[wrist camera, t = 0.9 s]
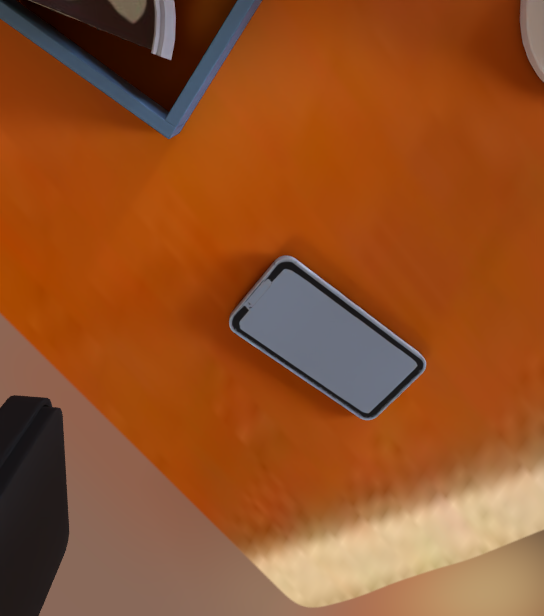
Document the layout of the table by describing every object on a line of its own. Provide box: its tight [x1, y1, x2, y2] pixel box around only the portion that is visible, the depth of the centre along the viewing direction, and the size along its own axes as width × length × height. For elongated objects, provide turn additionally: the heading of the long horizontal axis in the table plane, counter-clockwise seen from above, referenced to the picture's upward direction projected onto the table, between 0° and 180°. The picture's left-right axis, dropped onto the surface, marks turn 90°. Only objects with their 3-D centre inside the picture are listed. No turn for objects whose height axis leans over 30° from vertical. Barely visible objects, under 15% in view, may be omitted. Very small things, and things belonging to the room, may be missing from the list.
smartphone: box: [229, 256, 426, 420], centre depth 41 cm, size 7×1×15 cm
